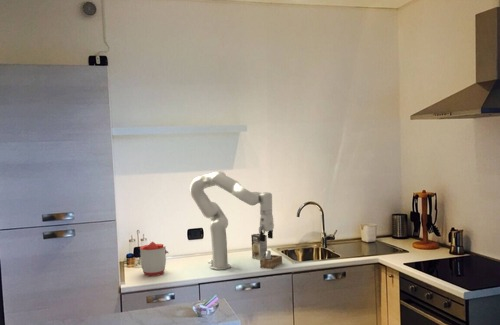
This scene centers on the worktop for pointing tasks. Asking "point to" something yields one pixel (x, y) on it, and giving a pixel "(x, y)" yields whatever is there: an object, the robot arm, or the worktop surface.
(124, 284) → the worktop surface
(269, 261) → the hole block
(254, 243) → the coffee box
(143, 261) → the citrus juicer
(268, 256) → the pin
